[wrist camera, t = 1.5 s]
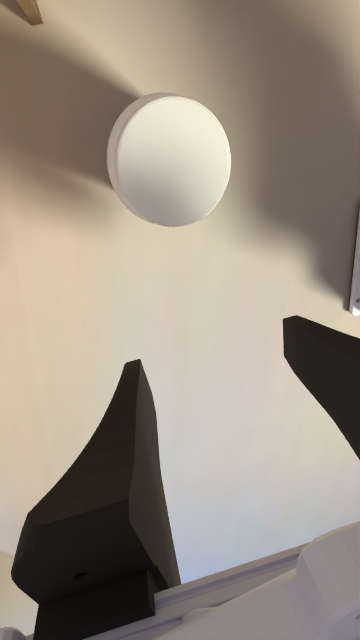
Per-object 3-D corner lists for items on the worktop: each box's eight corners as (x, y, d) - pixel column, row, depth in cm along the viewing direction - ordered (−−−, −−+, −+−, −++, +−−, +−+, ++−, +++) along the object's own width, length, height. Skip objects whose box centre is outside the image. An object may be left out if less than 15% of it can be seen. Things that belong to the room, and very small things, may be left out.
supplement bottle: (107, 107, 16) (99, 64, 8) (194, 116, 17) (255, 85, 9) (111, 204, 18) (107, 236, 11) (187, 207, 19) (232, 239, 12)
